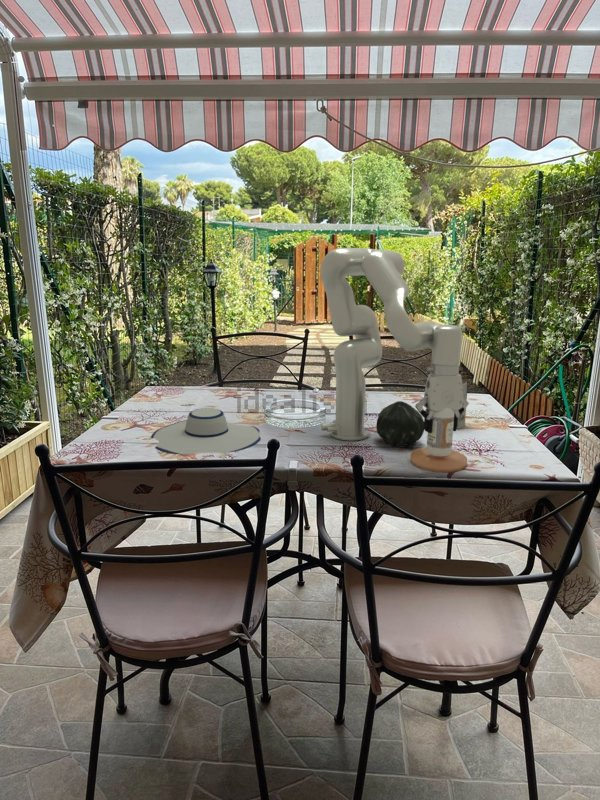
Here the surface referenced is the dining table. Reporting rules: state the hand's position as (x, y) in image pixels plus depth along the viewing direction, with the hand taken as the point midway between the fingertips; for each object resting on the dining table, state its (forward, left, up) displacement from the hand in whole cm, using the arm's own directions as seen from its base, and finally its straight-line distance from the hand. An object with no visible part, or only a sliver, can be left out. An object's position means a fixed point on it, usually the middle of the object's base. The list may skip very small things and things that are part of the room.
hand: (440, 430), depth 158 cm
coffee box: (+21, +31, -10) cm, 39 cm away
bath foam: (0, 0, -7) cm, 7 cm away
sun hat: (-63, +39, -10) cm, 75 cm away
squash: (-4, +18, -10) cm, 21 cm away
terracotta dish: (0, 0, -10) cm, 10 cm away
